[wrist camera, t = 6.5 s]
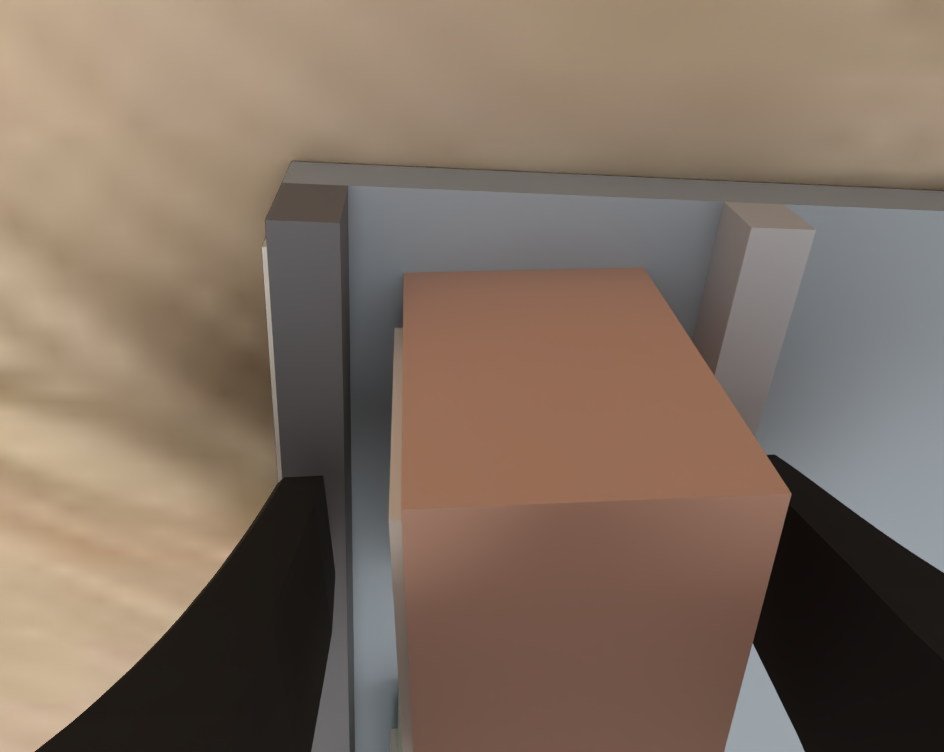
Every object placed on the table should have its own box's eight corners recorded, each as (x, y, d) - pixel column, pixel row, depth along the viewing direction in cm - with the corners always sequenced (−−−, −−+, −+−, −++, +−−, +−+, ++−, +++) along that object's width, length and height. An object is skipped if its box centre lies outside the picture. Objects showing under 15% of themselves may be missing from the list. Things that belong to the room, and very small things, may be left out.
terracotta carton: (393, 272, 13) (384, 509, 8) (643, 267, 13) (791, 493, 8) (408, 567, 16) (407, 870, 11) (608, 558, 17) (698, 850, 12)
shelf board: (284, 160, 13) (255, 220, 11) (1272, 205, 15) (1445, 266, 12) (318, 806, 22) (306, 919, 20) (932, 789, 24) (993, 892, 21)
